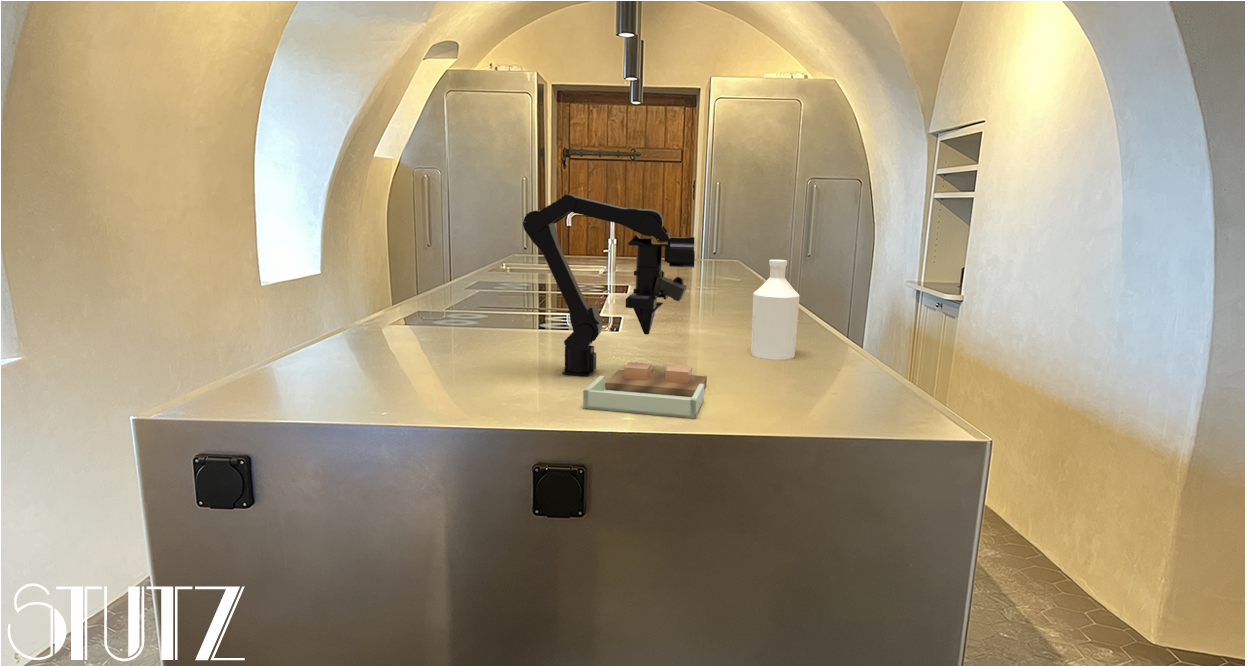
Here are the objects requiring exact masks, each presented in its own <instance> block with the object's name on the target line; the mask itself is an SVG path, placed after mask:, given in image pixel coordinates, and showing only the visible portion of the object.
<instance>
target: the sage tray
mask: <svg viewBox="0 0 1250 666" xmlns="http://www.w3.org/2000/svg"><path fill="white" fill-rule="evenodd" d="M605 382H606V375H599V376H598V377H597V378H596V379H595V380H594V381H593V382H592V383H590V384H589V385H588V386H587V387H586V388H585V389H584V390H583V394H582V396H583V398H582V400H583V402H582V406H583V407H582V408H583V409H586V408H587V409H588V410H596V411H597V410H598V411H610V412H621V413H631V414H642V415H652V416H654V415H655V416H663V417H674V418H683V419H684V418H686V419H696V418H697V416H698V413H699V411H700V409H701V407H702V405H703V403H704V399H705V389H704V384H699V385H698V387H697V389H696V391H695V393H694V395H693V396H692V397H683V396H671V395H660V394H648V393H636V392H624V391H613V390H605Z"/></svg>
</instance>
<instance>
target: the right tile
mask: <svg viewBox="0 0 1250 666" xmlns="http://www.w3.org/2000/svg"><path fill="white" fill-rule="evenodd" d="M664 371H665V372H664V373H665V382H673V383H685V384H688V383H689V382H690V380H691V378H692V375H693V367H692V366H683V365H671V364H669V365H668V367H666V369H665V370H664Z"/></svg>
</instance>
